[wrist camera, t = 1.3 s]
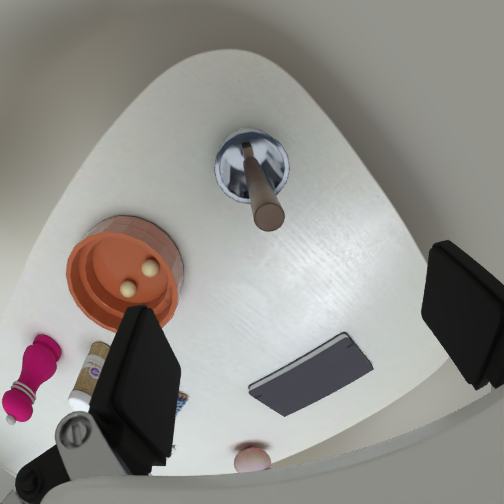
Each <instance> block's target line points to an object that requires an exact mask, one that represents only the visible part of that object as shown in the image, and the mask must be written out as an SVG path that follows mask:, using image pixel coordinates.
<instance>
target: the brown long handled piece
mask: <svg viewBox="0 0 504 504" xmlns="http://www.w3.org/2000/svg"><path fill="white" fill-rule="evenodd" d="M241 146H242V151H243V155H244V162H243V168H244V173H245V178H246V183H247V188H248V193H249V198H250V202H251V207H252V212H253V217H254V222H255V224H256V226H257V227H258V228H259V229H261V230H263V231H268V232H269V231H274V230H277V229H278V228H279V227H281V225H282V224H283V222H284V219H285V214H284V211H283V209H282V207H281V205H280V203H279V201H278V199H277V197H276V195H275V193H274V191H273V189H272V187H271V185H270V183H269V181H268V179H267V177H266V175H265V173H264V172H263V170H262V168H261V166H260V164H259V162H258V160H257V159H256V158H254V153H253V148H252V145H251V144H250V142H246V143H241Z"/></svg>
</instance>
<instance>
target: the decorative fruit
mask: <svg viewBox="0 0 504 504" xmlns="http://www.w3.org/2000/svg"><path fill="white" fill-rule="evenodd" d="M270 466H271V459H270V457H269V455H268V454H267V453H266V452H265V451H263V450H262V449H260V448H256V447H250V448H248V449H245V450H243V451H241V452H239V453H238V454H237V456H236V457H235V460H234V467H235V469H236V471H237V472H238V473H245V472H253V471H261V470H269V468H270ZM270 469H271V468H270Z"/></svg>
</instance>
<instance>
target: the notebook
mask: <svg viewBox="0 0 504 504" xmlns="http://www.w3.org/2000/svg"><path fill="white" fill-rule="evenodd" d="M373 369H374V368H373V366H372V364H371V363H370V362H369V360H368V359H367V358H366V356H365V355H364V354H363V353H362V351H361V350H360V349H359V348H358V346H357V345H356V344H355V343H354V341H353V340H352V339H351V337H350V336H349V335H348V334H347V333H346V332H343V333H341V334H339V335H337V336H336V337H334V338H333V339H331V340H329V341H328V342H326V343H324V344H323V345H321V346H320V347H318V348H316V349H315V350H313V351H311V352H309V353H308V354H306V355H304V356H303V357H301V358H299V359H297V360H296V361H294V362H292V363H290V364H289V365H287V366H285V367H283V368H281V369H280V370H278V371H276V372H274V373H272V374H270V375H268V376H267V377H265V378H263V379H261V380H259V381H257V382H255V383H253V384H251V385H250V386H249V387H248V388H249V389H250V391H249V394H250V395H251V396H253V397H254V398H255V399H257V400H259V401H260V402H262V403H263V404H265V405H266V406H268V407H270V408H271V409H273V410H274V411H276V412H278V413H279V414H281V415H282V416H284V417H285V416H287V415H289V414H292V413H294V412H296V411H298V410H300V409H302V408H304V407H306V406H308V405H310V404H312V403H314V402H316V401H318V400H320V399H322V398H324V397H326V396H328V395H330V394H332V393H333V392H335V391H337V390H339V389H341V388H343V387H344V386H346V385H348V384H350V383H351V382H353V381H355V380H357V379H358V378H360V377H362V376H363V375H365V374H367V373H368V372H370V371H372V370H373Z"/></svg>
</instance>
